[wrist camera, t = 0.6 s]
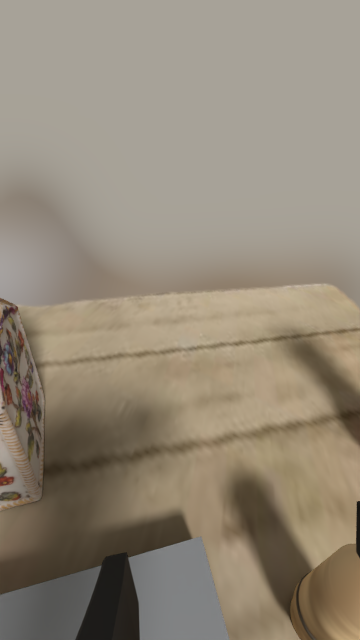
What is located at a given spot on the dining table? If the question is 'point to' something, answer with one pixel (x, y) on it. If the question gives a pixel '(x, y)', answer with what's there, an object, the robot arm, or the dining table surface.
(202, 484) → the dining table surface
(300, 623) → the oak peg
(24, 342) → the decorative jar
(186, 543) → the grey peg hole board
